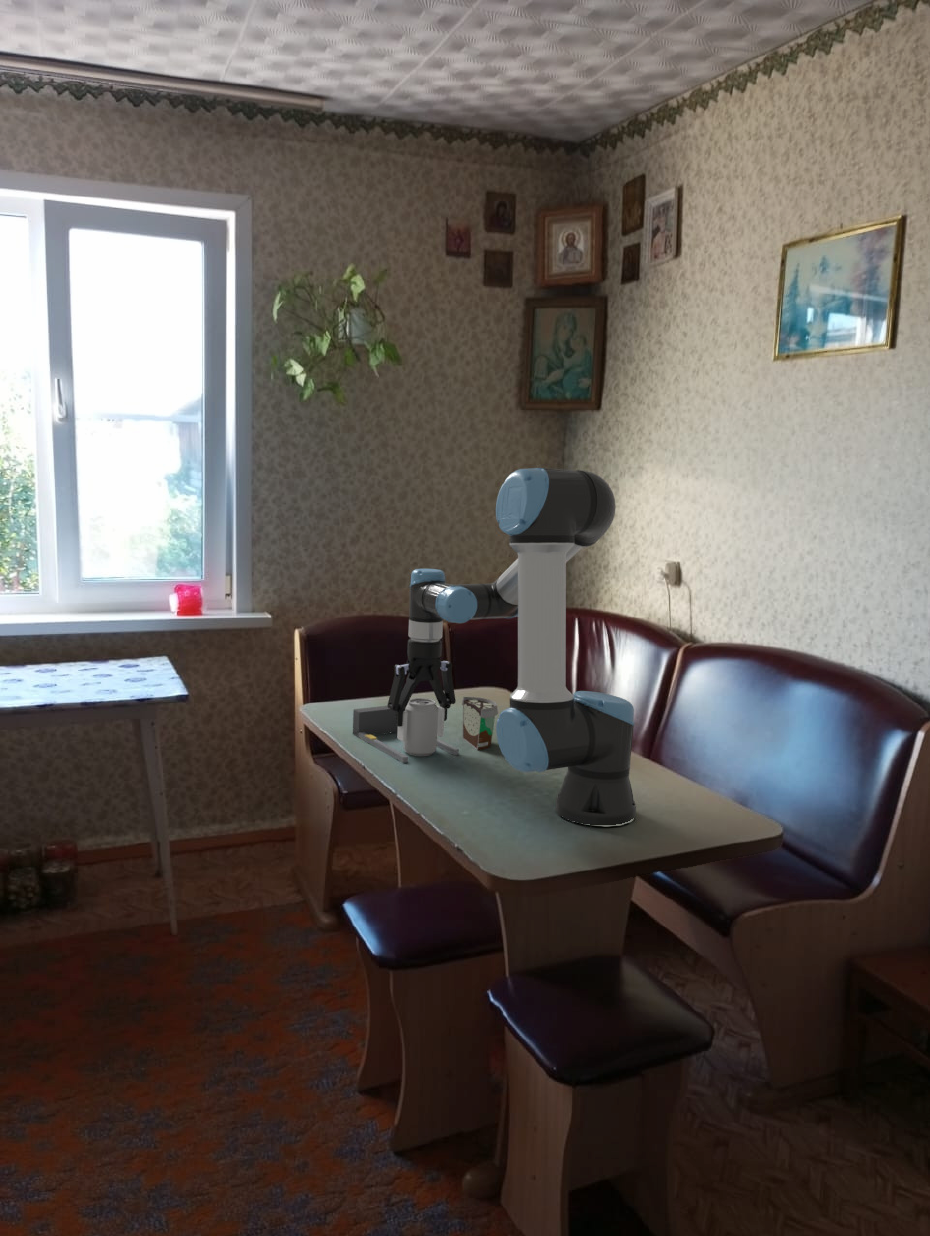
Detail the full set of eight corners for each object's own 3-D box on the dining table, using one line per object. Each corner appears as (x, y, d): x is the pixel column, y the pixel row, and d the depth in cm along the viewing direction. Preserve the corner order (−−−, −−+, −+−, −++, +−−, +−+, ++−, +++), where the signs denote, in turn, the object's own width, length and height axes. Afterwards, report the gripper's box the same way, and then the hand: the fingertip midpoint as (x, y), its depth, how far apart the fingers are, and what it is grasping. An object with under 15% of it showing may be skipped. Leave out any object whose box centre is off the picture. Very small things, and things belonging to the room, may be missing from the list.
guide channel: (459, 754, 215) (460, 728, 215) (402, 762, 207) (403, 736, 206) (405, 727, 235) (406, 703, 234) (352, 733, 227) (353, 709, 226)
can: (438, 748, 219) (440, 697, 217) (434, 758, 212) (436, 706, 210) (405, 746, 220) (408, 695, 218) (400, 756, 212) (402, 703, 210)
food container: (504, 750, 220) (507, 708, 219) (479, 752, 218) (482, 709, 217) (483, 735, 232) (486, 695, 230) (460, 736, 229) (462, 696, 228)
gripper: (457, 633, 220) (452, 727, 224) (373, 638, 208) (369, 738, 212) (475, 639, 214) (469, 736, 218) (390, 645, 202) (386, 747, 206)
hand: (420, 737), depth 215 cm, fingers open, 9 cm apart
